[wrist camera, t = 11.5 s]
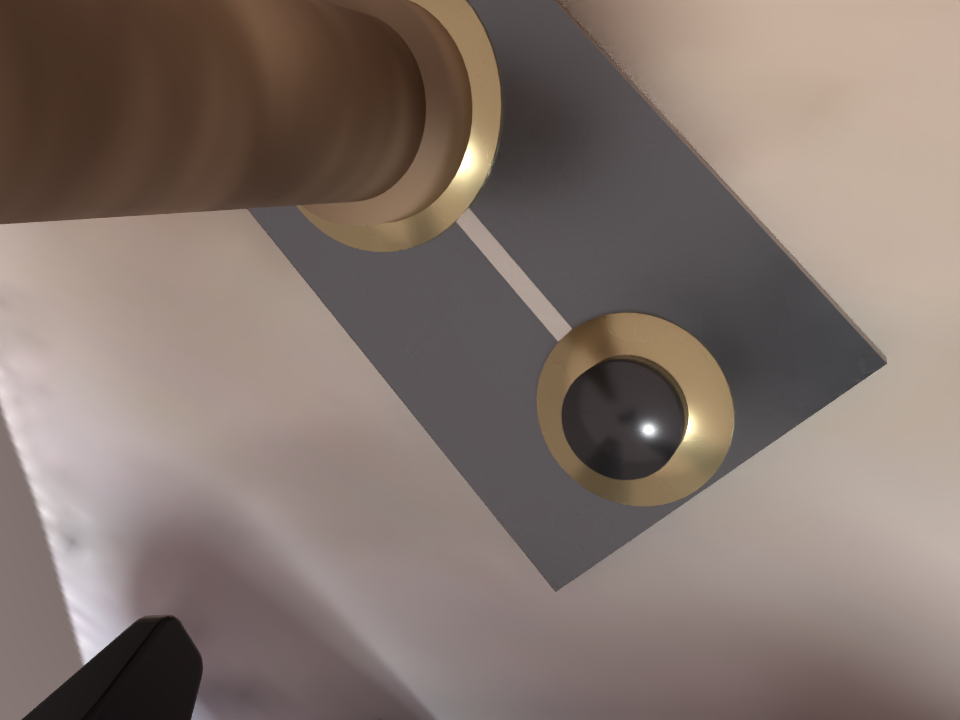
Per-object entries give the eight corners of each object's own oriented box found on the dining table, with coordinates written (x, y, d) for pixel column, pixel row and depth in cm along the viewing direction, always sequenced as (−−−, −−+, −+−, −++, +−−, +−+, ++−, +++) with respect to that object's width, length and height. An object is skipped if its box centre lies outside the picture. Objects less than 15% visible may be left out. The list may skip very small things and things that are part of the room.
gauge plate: (886, 357, 17) (887, 374, 15) (563, 581, 21) (541, 610, 20) (393, -179, 19) (355, -206, 17) (199, 130, 24) (157, 128, 22)
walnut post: (477, 221, 19) (13, 282, 9) (298, 225, 22) (-231, 276, 11) (467, -24, 18) (-87, -285, 8) (278, 10, 21) (-336, -154, 10)
